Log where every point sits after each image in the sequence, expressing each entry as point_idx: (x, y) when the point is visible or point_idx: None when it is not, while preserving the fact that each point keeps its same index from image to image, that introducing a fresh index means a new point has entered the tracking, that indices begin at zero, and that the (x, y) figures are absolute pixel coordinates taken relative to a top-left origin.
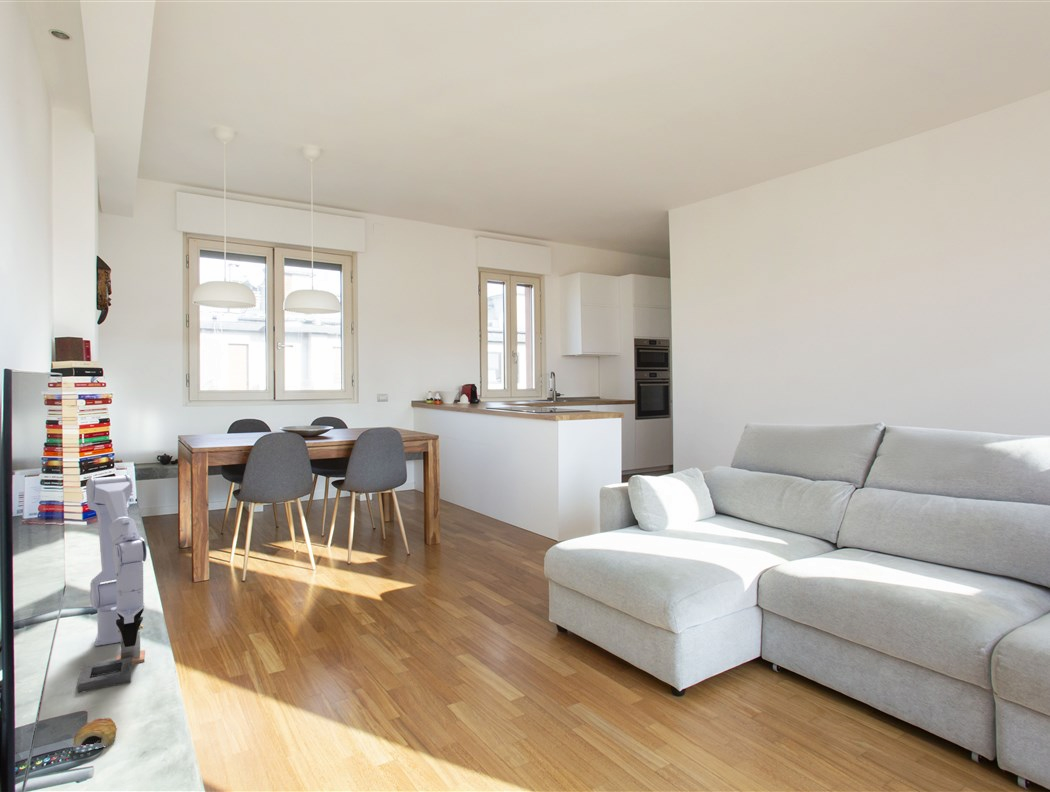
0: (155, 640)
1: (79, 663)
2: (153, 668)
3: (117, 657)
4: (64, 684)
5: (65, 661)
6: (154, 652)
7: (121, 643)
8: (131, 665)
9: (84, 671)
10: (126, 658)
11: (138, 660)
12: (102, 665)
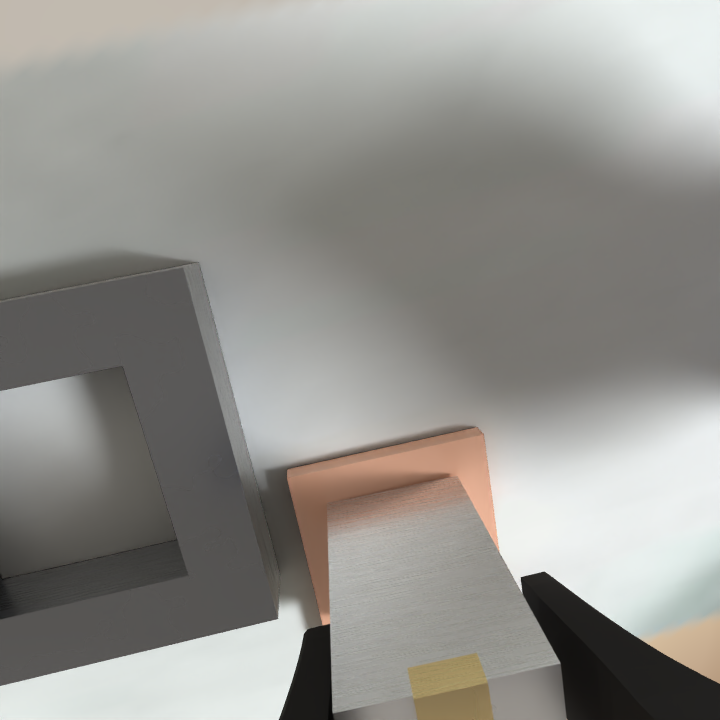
0: (697, 594)
1: (462, 158)
2: (180, 716)
3: (430, 451)
4: (20, 164)
5: (558, 13)
6: None
7: (333, 618)
8: (116, 652)
9: (44, 322)
10: (266, 583)
11: (319, 610)
12: (154, 440)
